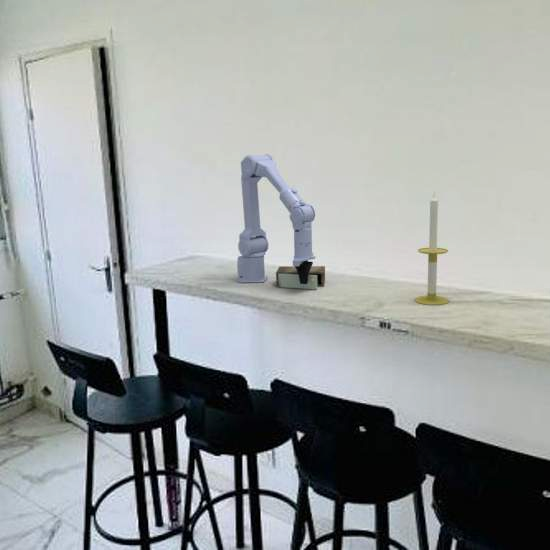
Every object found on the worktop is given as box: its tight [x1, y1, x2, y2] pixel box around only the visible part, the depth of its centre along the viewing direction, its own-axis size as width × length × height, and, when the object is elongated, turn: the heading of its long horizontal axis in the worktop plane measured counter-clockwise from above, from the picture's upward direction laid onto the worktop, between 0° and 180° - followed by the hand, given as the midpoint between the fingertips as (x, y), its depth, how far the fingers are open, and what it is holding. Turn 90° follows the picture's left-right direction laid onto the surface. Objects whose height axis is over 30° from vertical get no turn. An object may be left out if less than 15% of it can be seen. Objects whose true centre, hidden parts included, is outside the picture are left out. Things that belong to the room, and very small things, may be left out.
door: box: [278, 274, 318, 290], centre depth 199 cm, size 13×2×4 cm, turn 69°
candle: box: [414, 191, 450, 306], centre depth 176 cm, size 10×10×32 cm
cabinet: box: [275, 265, 326, 288], centre depth 207 cm, size 16×10×5 cm, turn 83°
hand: (303, 283), depth 198 cm, fingers closed
